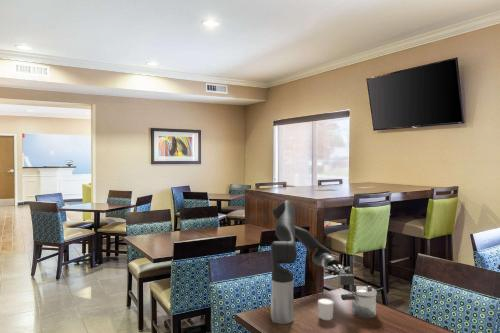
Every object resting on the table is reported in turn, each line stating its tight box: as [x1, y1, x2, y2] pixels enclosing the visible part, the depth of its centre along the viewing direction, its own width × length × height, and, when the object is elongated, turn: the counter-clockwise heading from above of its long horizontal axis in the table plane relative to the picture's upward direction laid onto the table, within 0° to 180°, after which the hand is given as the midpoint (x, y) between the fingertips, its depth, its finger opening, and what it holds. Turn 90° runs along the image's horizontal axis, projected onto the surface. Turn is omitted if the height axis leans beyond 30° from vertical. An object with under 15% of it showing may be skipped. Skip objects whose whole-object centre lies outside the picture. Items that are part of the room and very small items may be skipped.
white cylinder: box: [317, 298, 335, 321], centre depth 157 cm, size 7×7×7 cm
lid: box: [338, 273, 378, 297], centre depth 160 cm, size 16×11×8 cm, turn 95°
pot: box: [340, 292, 377, 319], centre depth 161 cm, size 15×10×9 cm, turn 96°
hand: (344, 275), depth 163 cm, fingers closed
